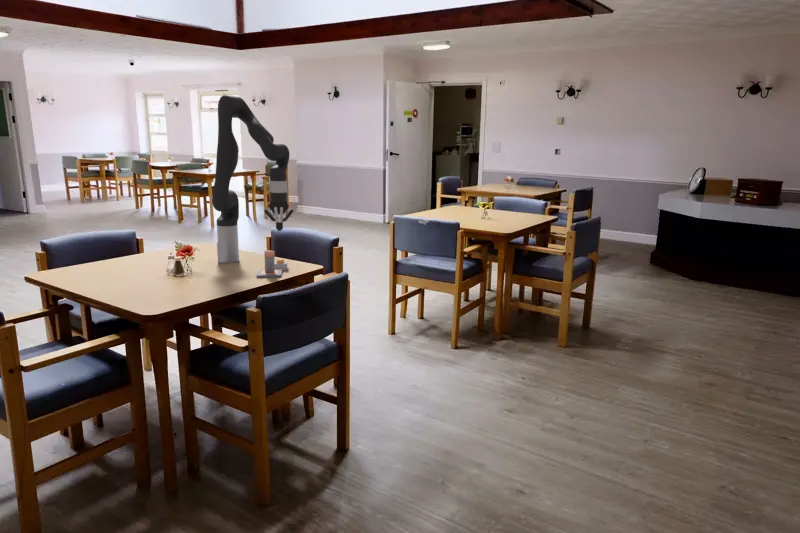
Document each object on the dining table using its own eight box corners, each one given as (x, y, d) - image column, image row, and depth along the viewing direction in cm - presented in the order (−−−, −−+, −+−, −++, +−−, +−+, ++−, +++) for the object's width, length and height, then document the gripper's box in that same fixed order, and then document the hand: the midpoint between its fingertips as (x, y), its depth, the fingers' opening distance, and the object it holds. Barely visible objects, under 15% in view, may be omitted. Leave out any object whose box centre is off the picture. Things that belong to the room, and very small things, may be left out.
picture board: (256, 277, 236) (256, 275, 236) (258, 272, 246) (258, 269, 245) (281, 277, 238) (280, 274, 237) (282, 271, 247) (282, 269, 247)
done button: (276, 267, 250) (276, 260, 249) (277, 265, 253) (277, 259, 252) (283, 267, 250) (283, 260, 250) (284, 265, 253) (284, 259, 253)
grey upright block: (264, 273, 239) (264, 252, 237) (264, 271, 243) (264, 250, 241) (274, 272, 240) (274, 252, 238) (274, 270, 244) (274, 250, 242)
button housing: (273, 270, 249) (273, 264, 248) (274, 267, 254) (274, 261, 253) (286, 270, 250) (286, 263, 249) (287, 267, 255) (287, 261, 254)
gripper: (294, 190, 249) (295, 229, 253) (263, 190, 247) (264, 229, 251) (293, 192, 242) (294, 232, 246) (262, 191, 240) (263, 232, 244)
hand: (279, 230), depth 248 cm, fingers closed
